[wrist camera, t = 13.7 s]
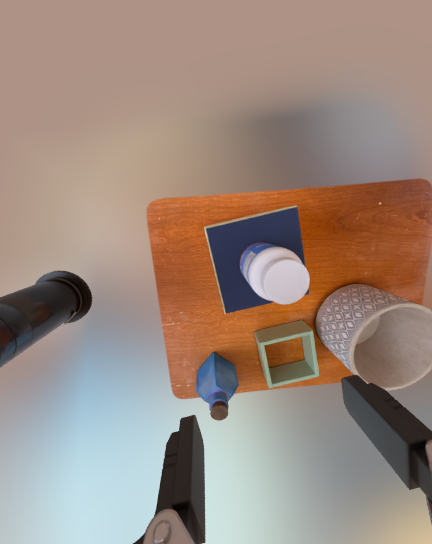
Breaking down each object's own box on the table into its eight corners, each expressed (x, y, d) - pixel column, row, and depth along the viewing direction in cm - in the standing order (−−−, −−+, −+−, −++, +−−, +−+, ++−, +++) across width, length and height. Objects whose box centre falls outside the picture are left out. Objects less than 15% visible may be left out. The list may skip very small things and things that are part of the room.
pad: (225, 312, 29) (225, 313, 29) (205, 228, 27) (205, 228, 26) (307, 292, 29) (309, 293, 29) (296, 207, 27) (297, 206, 26)
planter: (361, 267, 46) (419, 283, 33) (395, 321, 49) (460, 354, 37) (298, 312, 47) (332, 344, 35) (336, 362, 51) (378, 406, 38)
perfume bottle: (234, 365, 49) (243, 409, 38) (218, 384, 50) (222, 432, 39) (213, 351, 48) (215, 392, 37) (197, 371, 49) (194, 417, 38)
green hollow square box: (262, 372, 50) (268, 388, 45) (254, 331, 48) (259, 343, 43) (308, 361, 50) (319, 376, 45) (302, 319, 48) (313, 330, 43)
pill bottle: (286, 247, 27) (329, 260, 18) (272, 287, 28) (307, 319, 19) (245, 236, 27) (268, 244, 17) (233, 277, 28) (248, 305, 18)
